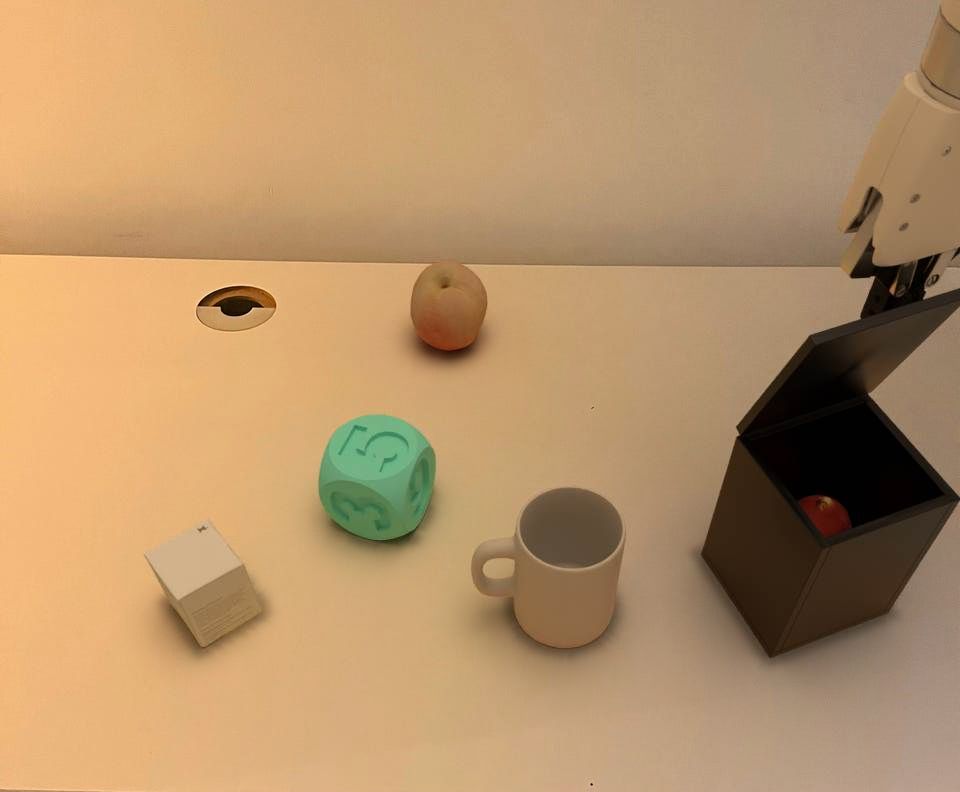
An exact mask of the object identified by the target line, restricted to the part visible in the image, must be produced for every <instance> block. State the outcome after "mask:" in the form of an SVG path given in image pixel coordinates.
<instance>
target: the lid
mask: <svg viewBox="0 0 960 792" xmlns="http://www.w3.org/2000/svg"><path fill="white" fill-rule="evenodd" d="M959 308H960V287H959V288H956V289H952V290H949V291H945V292H943V293H939V294H936V295H933V296H930V297H927V298H923V300H920V301H917V302H913V303H910V304H907V305H904V306H901V307H897V308H894V309H891V310H888V311H885V312H882V313H878V314H875V315H872V316H869V317H866V318H862V319H861V318H859V319H856V320H853V321H849V322H847V323H844V324H840V325H837V326H834V327H831V328H827V329H825V330H822V331H818V332H815V333H811V334H809V335H808V337H806V339H805V340H804V341H803V342H802V344H801V345H800V346H799V348H798V349H797V350H796V351H795V353H794V354H793V355H792V357H791V358H789V360H788V361H787V362H786V364H785V365H784V366H783V368H782V369H781V370H780V371H779V372H778V374H777V375H776V376H775V378H774V379H773V380H772V381H771V382H770V384H769V385H768V386H767V387H766V389H765V390H764V391H763V392H762V394H761V395H760V396H759V397H758V398H757V400H756V401H755V402H754V403H753V405H752V406H751V407H750V409H749V410H747V412H746V414H745V415H744V416H743V418H741V420H740V421H739V422H738V424H737V425H736V426H735V429H736V431H737V433H738V436H739V435H740V436H741V435H744V434H747V433H750V432H753V431H756V430H759V429H762V428H765V427H768V426H771V425H775V424H778V423H781V422H784V421H787V420H790V419H793V418H796V417H799V416H802V415H805V414H808V413H811V412H814V411H817V410H820V409H823V408H826V407H829V406H832V405H835V404H838V403H841V402H844V401H847V400H850V399H853V398H856V397H859V396H862V395H865V394H871V393H872V392H873V391H875V390H876V388H877V387H879V385H881V384H882V383H883V382H884V381H885V380H886V379H887V378H888V377H889V376H890V375H891V374H892V373H893V372H894V371H895V370H896V369H897V368H898V367H899V366H900V365H902V363H903V362H904V361H906V360H907V358H909V356H910V355H912V354H913V353H914V352H915V351H916V350H917V349H918V348H919V347H920V346H921V345H922V344H923V343H924V342H925V341H926V340H927V339H928V338H930V336H931V335H932V334H933V333H934V332H935V331H936V330H937V329H938V328H939V327H940V326H942V325H943V324H944V323H945V322H946V321H947V320H948V319H949V318H950V317H951V316H952V315H953V314H954V313H955V312H956V311H957V310H958V309H959Z"/></svg>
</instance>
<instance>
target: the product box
mask: <svg viewBox="0 0 960 792" xmlns="http://www.w3.org/2000/svg"><path fill="white" fill-rule="evenodd" d="M143 556H144V559H145V560H146V561H147V563H148V565H149V567H150V568H151V570H152V572H153V574H154V576H155V577H156V579H157V581H158V584H159V585H160V587H161V589H162V590H163V593H164V595H165V596H166V598H167V600H168V602H169V604H170V605H171V606H172V608H173V609H174V610H175V611H176V612H177V614H178V615H179V616H180V618H181V619H182V621H183V622H184V623H185V625H186V626H187V627H188V629H189V630H190V632H191V633H192V635H193V637H194V639H195V641H197V643H198V645H199V646H200V648H206V647H207V646H210V645H211V644H212V643H214V642H216V641H217V640H219V639H221V638H222V637H224V636H225V635H227V634H228V633H230V632H232V631H233V630H235V629H236V628H238V627H240V626H242V625H243V624H245V623H247V622H248V621H250V620H251V619H254V618H255V617H256V616H258V615H260V614H262V612H263V608H262V607H261V605H260V602H259V600H258V597H257V595H256V592H255V589H254V587H253V585H252V582H251V578H250V576H249V573H248V571H247V568H246V565H245V564H244V562H243V561H242V560H241V558H240V557H239V556H238V555H237V553H236V552H235V550H234V549H233V548H232V547H231V546H230V545H229V543H228V542H227V540H226V539H225V537H223V536H222V534H221V533H220V532H219V530H218V529H217V528H216V527H215V525H214V524H213V523H212V521H211V520H210V519H209V518H205V519H203V520H202V521H200V522H198V523H196V524H195V525H193V526H191V527H189V528H187V529H185V530H184V531H182V532H180V533H178V534H177V535H174V536H173V537H171V538H170V539H168V540H166V541H164V542H162V543H160V544H158V545H157V546H155V547H153V548H151V549H150V550H148V551H146V552H144V553H143Z"/></svg>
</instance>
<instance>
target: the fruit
mask: <svg viewBox="0 0 960 792" xmlns="http://www.w3.org/2000/svg"><path fill="white" fill-rule="evenodd" d="M488 303H489V302H488V293H487V290H486V287H485V286H484V283H483V282H482V280H481V278H480V277H479V276H478V275H477V274H476V272H474V271H473V270H472V269H471V268H469V267H468V266H466V265H464V264H462V263H460V262H457V261H454V260H450V259H449V260H447V259H445V260H439V261H436V262H434V263H432V264H430V265H428V266H426V267H425V268H424V269H423V270H422V271H421V272H420V274H419V275H418V277H417V278H416V280H415V282H414V284H413V286H412V292H411V297H410V318H411V321H412V324H413V327H414V330H415V331H416V333H417V334H418V336H419V337H420V338H421V339H422V341H424V342H425V343H426V344H428V345H429V346H431V347H434V348H435V349H439V350H442V351H456V350H459V349H464V348H466V347H468V346H469V345H471V344H473V342H474V341H475V340H476V338H477V336H478V334H479V331H480V330H481V327H482V326H483V323H484V320H485V317H486V314H487V310H488V305H489V304H488Z"/></svg>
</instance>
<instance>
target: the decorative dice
mask: <svg viewBox="0 0 960 792" xmlns="http://www.w3.org/2000/svg"><path fill="white" fill-rule="evenodd" d="M436 469H437V458H436V452H435V450H434V448H433V446H432V444H431V442H430V441H429V440H428V438H426V436H425V435H424V434H423V432H422V431H420V430H419V429H418V428H417V427H416V426H414V425H412V424H411V423H409V422H407V421H405V420H404V419H402V418H400V417H396V416H392V415H389V414H379V413H377V414H376V413H375V414H366V415H361V416H357V417H355V418H353V419H350V420H349V421H346V422H345V423H344V424H342V425H341V426H339V427H338V428H336V429H335V431H334V432H333V434H331V436H330V438H329V439H328V441H327V444H326V446H325V449H324V452H323V454H322V457H321V461H320V466H319V473H318V482H317V483H318V484H317V485H318V487H317V488H318V489H317V490H318V496H319V500H320V503H321V505H322V507H323V509H324V510H325V511H326V513H327V515H329V517H330V518H331V519H332V520H333V521H334V522H335V523H337V524H338V525H339V526H340V527H342V528H343V529H345V530H346V531H348V532H349V533H352V534H353V535H356V536H359V537H361V538H365V539H368V540H372V541H387V540H388V541H389V540H392V539H397V538H399V537H402V536H403V537H404V536H405V535H407V534H409V533H411V532H412V531H414V530H415V529H416V528H417V527H418V526H419V525H420V523H421V521H422V520H423V518H424V516H425V514H426V512H427V509H428V506H429V503H430V500H431V497H432V493H433V489H434V486H435V480H436V471H437V470H436Z"/></svg>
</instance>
